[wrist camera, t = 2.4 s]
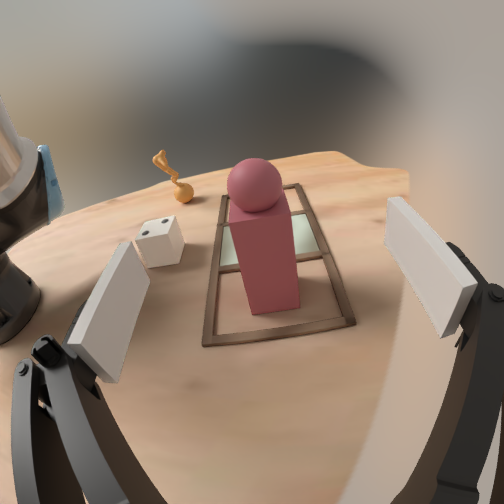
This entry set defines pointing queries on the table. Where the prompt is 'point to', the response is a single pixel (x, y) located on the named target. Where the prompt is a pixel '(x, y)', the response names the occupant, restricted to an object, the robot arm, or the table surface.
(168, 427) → the table surface
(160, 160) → the figurine
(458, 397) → the robot arm
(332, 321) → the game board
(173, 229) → the die
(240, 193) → the pawn
